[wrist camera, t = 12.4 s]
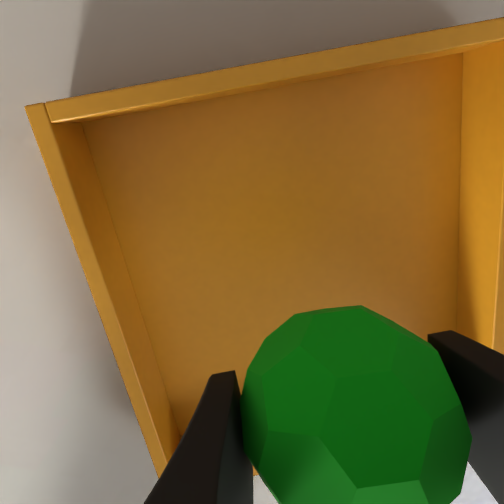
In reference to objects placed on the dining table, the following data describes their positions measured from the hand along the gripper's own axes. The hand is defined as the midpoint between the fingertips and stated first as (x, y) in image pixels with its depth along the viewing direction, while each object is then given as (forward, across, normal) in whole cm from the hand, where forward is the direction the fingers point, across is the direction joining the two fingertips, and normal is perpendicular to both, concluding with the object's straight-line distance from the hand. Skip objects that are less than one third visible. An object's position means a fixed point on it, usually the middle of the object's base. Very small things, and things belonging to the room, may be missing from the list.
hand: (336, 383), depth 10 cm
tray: (+7, 0, 0) cm, 7 cm away
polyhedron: (+2, 0, 0) cm, 2 cm away
